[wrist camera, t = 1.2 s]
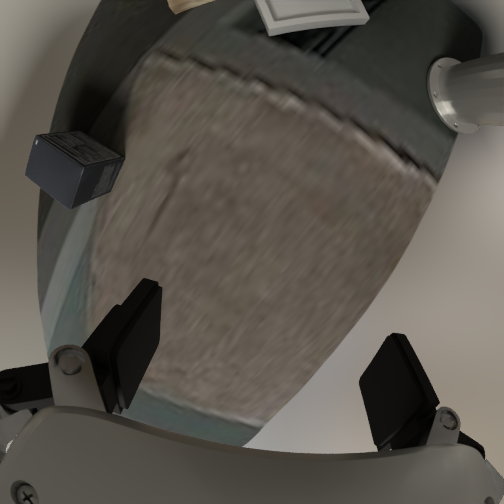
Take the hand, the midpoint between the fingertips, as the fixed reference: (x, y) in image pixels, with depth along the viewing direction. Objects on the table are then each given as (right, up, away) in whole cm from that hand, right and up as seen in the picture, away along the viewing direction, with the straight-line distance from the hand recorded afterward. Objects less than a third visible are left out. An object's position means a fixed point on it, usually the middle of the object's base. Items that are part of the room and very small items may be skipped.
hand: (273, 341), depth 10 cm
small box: (-25, +17, +25) cm, 39 cm away
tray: (+6, +40, +13) cm, 42 cm away
